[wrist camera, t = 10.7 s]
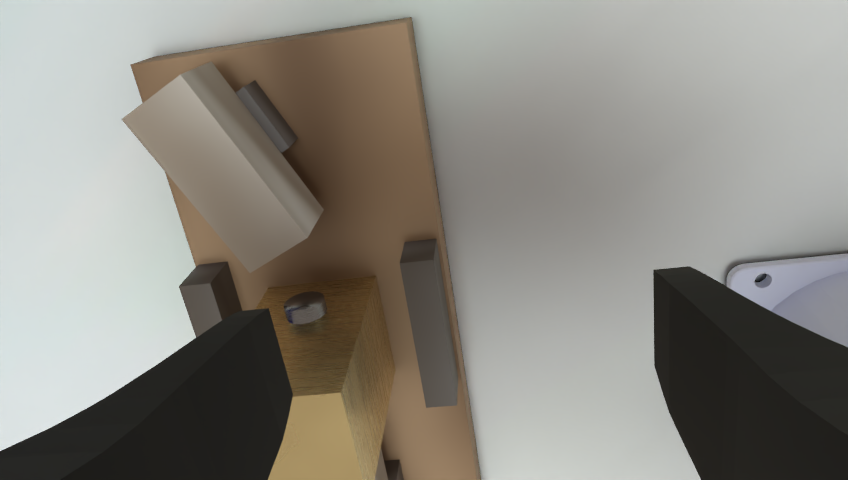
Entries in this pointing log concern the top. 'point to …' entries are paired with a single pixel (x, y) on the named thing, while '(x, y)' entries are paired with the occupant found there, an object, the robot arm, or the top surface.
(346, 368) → the wooden block with knob
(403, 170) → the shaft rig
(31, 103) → the top surface
